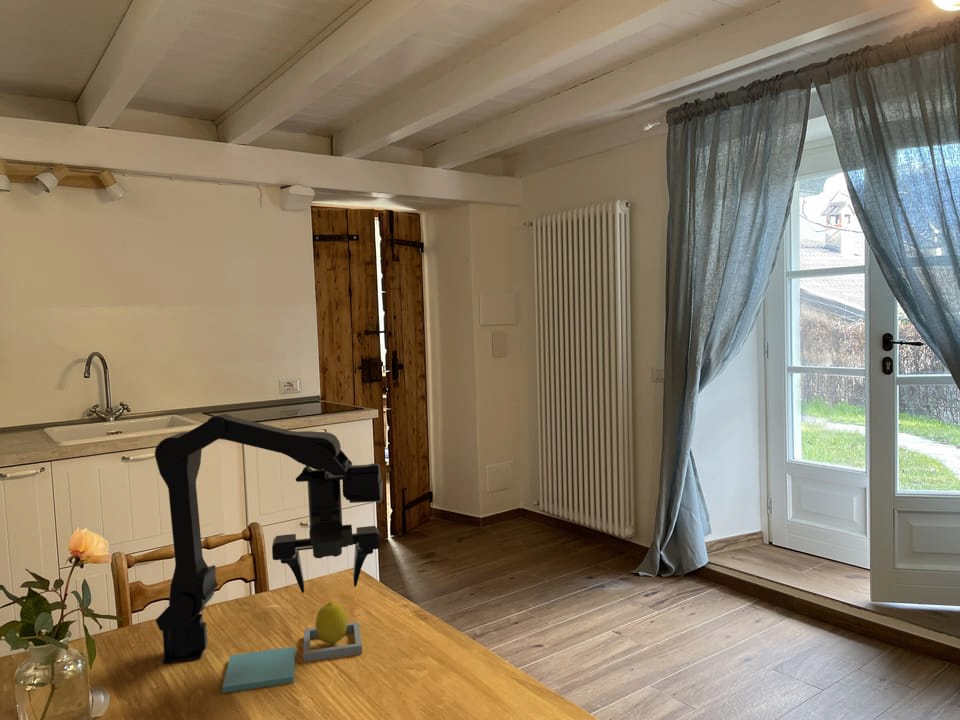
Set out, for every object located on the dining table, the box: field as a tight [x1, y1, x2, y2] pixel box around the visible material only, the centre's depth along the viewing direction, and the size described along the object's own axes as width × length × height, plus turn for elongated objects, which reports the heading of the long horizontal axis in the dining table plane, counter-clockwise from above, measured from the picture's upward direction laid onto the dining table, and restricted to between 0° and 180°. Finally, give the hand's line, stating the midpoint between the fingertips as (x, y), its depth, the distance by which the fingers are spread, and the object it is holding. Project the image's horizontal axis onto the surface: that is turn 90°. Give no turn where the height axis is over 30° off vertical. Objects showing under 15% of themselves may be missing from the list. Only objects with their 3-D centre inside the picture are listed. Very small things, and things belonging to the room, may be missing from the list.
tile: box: [221, 645, 297, 694], centre depth 117 cm, size 11×11×1 cm
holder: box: [303, 621, 363, 663], centre depth 126 cm, size 10×10×2 cm
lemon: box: [315, 601, 348, 647], centre depth 125 cm, size 6×6×8 cm
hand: (329, 588), depth 125 cm, fingers open, 9 cm apart
